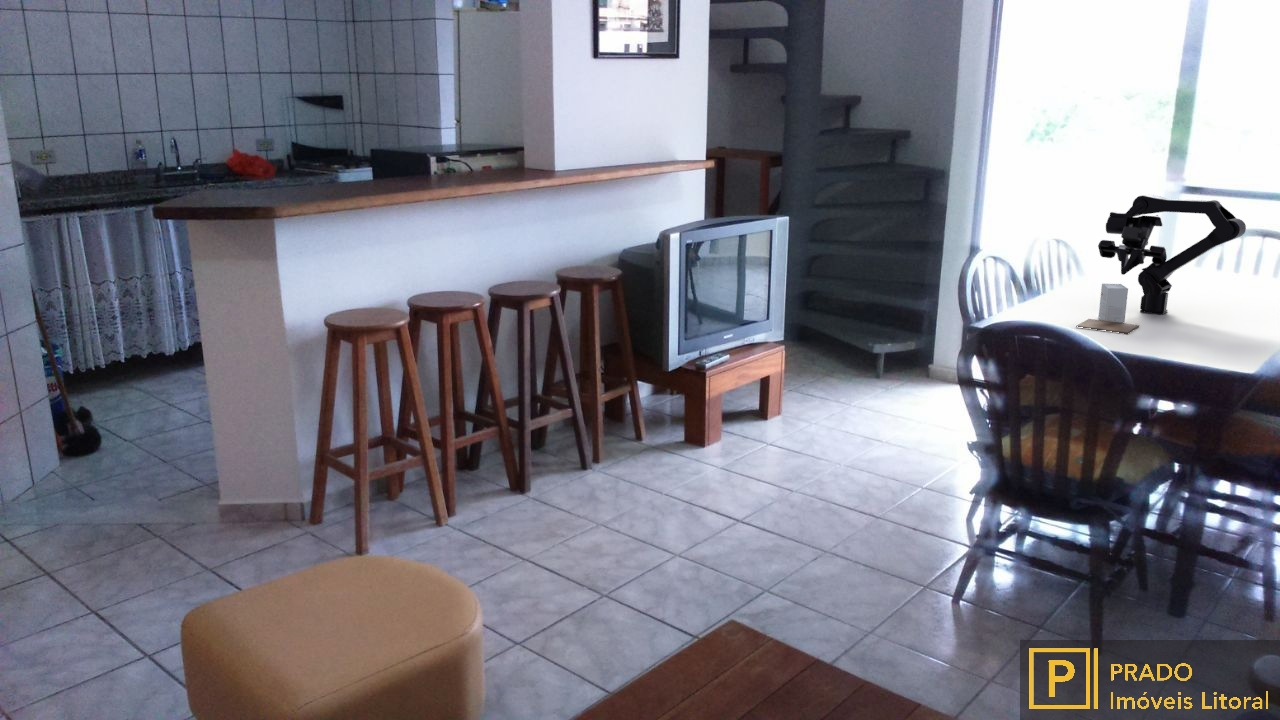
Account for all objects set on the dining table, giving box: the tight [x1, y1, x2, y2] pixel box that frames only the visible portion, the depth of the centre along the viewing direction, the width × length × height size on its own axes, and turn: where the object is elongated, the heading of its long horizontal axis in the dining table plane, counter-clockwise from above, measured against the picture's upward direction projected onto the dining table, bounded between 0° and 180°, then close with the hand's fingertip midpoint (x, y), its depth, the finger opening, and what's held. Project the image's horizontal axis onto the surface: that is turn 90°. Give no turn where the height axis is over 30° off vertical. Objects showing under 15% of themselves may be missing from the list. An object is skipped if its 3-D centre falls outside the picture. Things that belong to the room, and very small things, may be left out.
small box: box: [1098, 283, 1129, 323], centre depth 297 cm, size 8×6×10 cm
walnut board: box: [1075, 318, 1140, 335], centre depth 289 cm, size 14×12×1 cm
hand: (1122, 273), depth 300 cm, fingers closed
